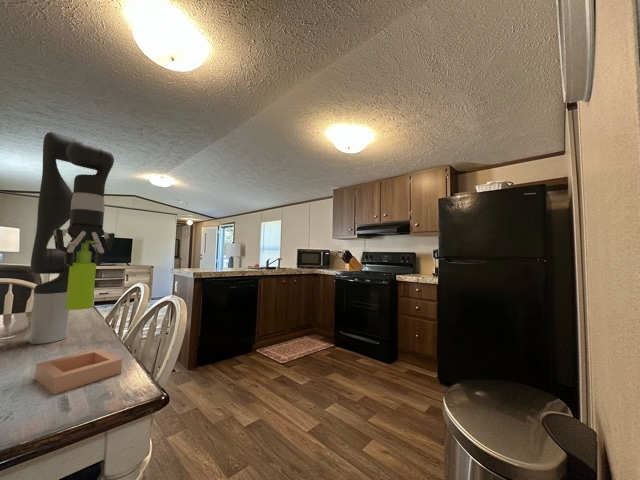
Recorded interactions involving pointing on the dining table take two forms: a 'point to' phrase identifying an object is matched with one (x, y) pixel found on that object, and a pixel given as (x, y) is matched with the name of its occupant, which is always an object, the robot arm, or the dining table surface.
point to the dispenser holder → (77, 370)
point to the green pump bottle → (81, 280)
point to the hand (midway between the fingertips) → (83, 265)
